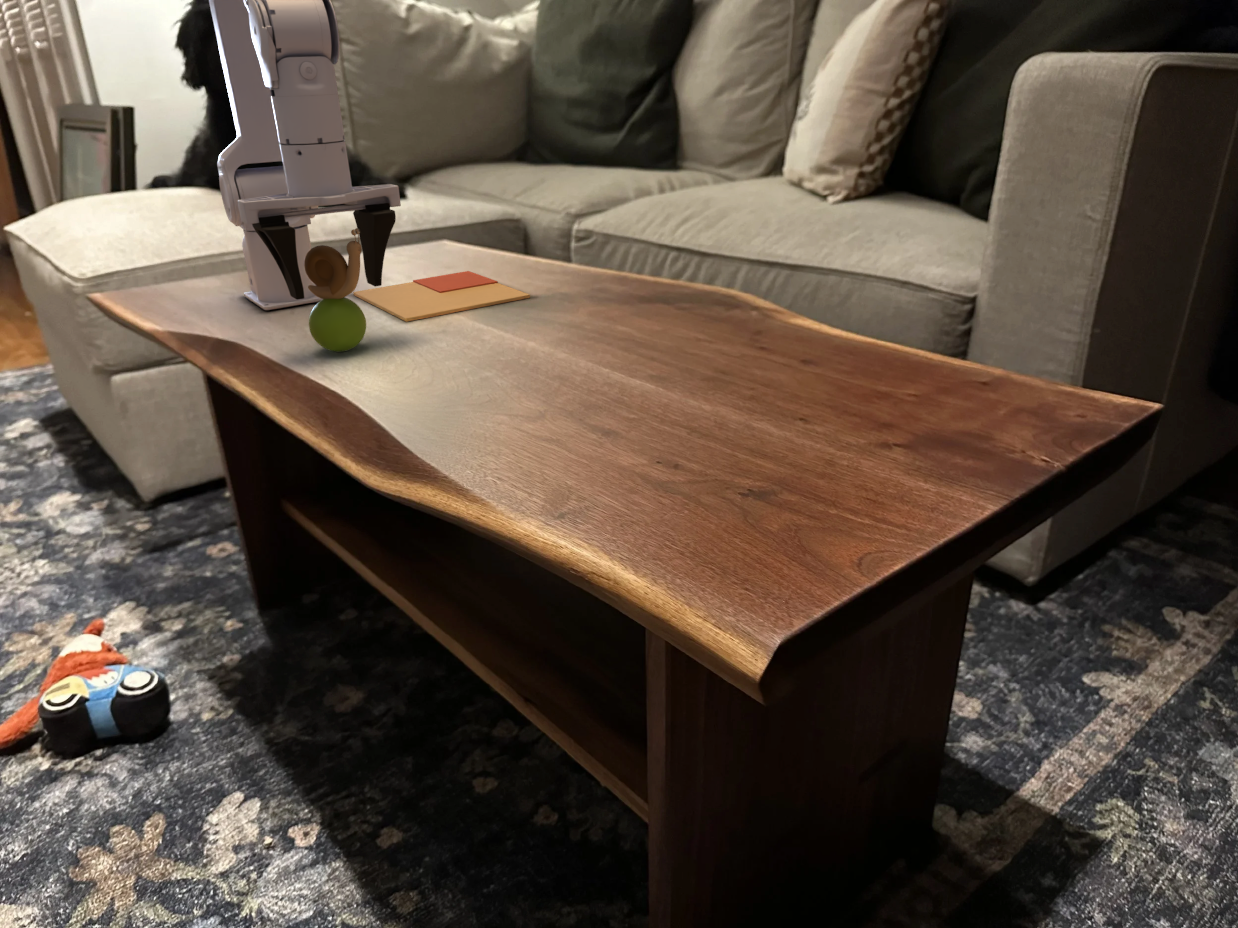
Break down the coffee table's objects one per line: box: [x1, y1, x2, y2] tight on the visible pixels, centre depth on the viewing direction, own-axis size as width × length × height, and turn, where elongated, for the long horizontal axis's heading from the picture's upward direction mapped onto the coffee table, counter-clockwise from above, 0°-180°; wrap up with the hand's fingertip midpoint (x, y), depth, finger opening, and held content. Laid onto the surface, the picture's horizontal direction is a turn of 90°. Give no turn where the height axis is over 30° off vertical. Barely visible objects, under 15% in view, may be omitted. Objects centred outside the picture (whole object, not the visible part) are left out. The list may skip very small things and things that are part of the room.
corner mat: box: [352, 270, 531, 322], centre depth 106 cm, size 16×16×1 cm
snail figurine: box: [304, 227, 367, 353], centre depth 85 cm, size 5×6×12 cm
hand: (336, 290), depth 85 cm, fingers open, 7 cm apart
